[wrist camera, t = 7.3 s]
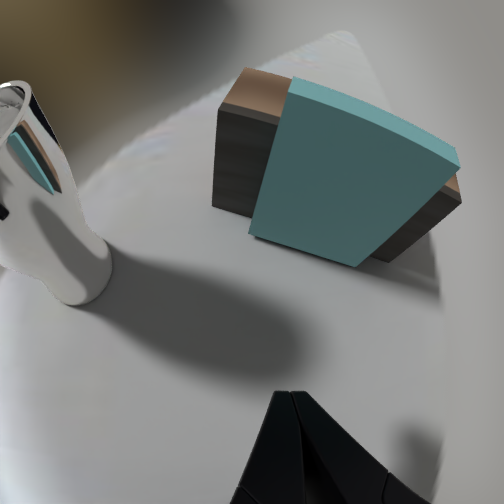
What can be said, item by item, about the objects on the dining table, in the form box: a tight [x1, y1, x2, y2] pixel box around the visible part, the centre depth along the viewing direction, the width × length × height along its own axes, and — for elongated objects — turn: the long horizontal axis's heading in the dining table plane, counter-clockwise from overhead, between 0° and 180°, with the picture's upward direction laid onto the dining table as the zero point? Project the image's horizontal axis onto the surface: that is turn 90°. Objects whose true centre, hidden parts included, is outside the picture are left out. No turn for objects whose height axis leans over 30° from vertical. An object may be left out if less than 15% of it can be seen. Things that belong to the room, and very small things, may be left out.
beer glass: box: [0, 81, 112, 306], centre depth 13 cm, size 7×7×15 cm
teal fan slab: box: [248, 77, 460, 267], centre depth 19 cm, size 7×9×13 cm
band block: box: [212, 67, 462, 263], centre depth 21 cm, size 6×16×10 cm, turn 75°
